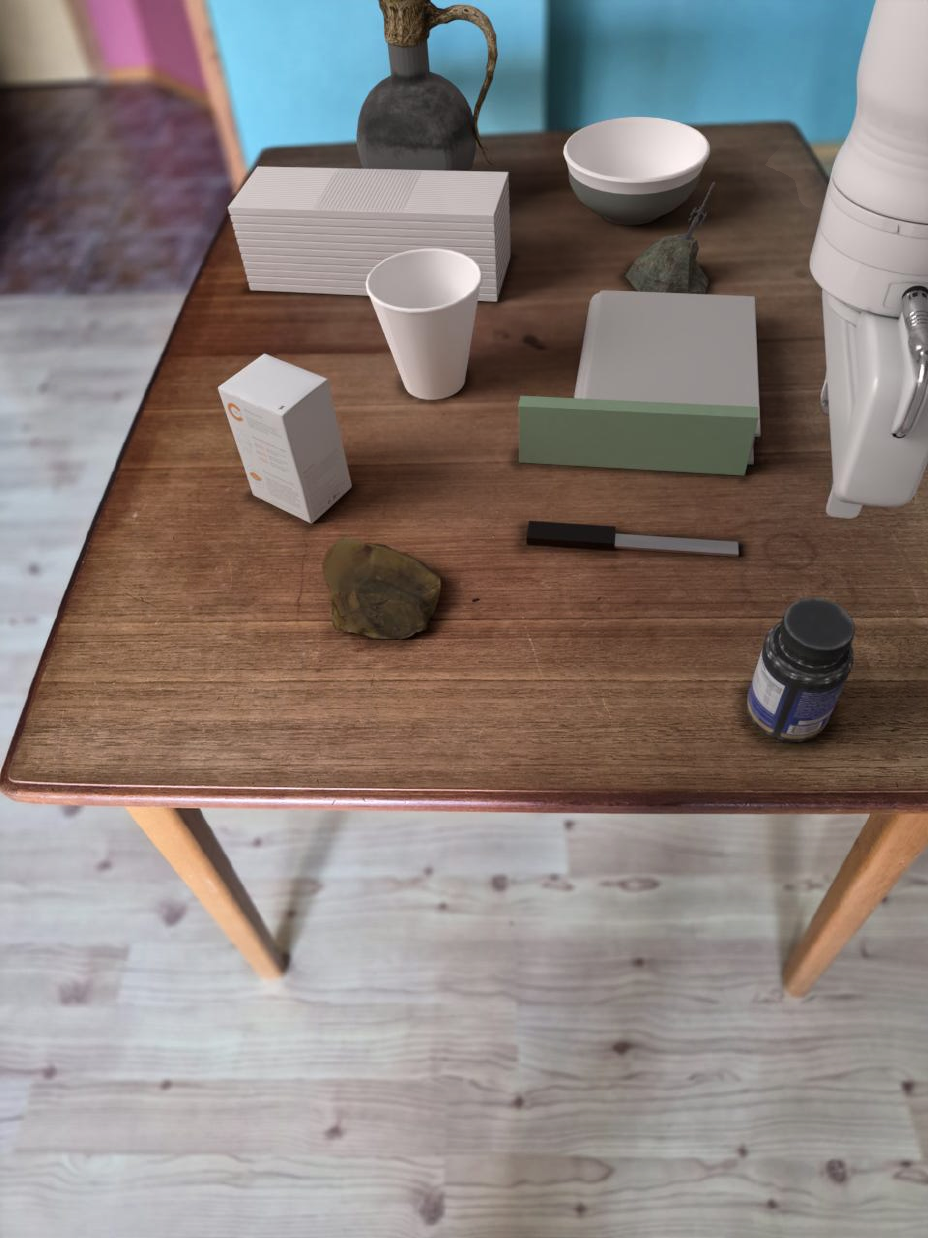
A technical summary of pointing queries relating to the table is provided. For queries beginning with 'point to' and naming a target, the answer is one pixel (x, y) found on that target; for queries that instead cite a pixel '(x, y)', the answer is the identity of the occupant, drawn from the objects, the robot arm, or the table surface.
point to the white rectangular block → (671, 349)
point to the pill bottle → (802, 670)
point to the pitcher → (421, 96)
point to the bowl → (635, 167)
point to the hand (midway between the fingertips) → (836, 456)
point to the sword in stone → (671, 263)
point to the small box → (287, 436)
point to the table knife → (620, 540)
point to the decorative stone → (378, 590)
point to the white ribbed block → (366, 224)
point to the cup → (427, 316)
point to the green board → (636, 434)
